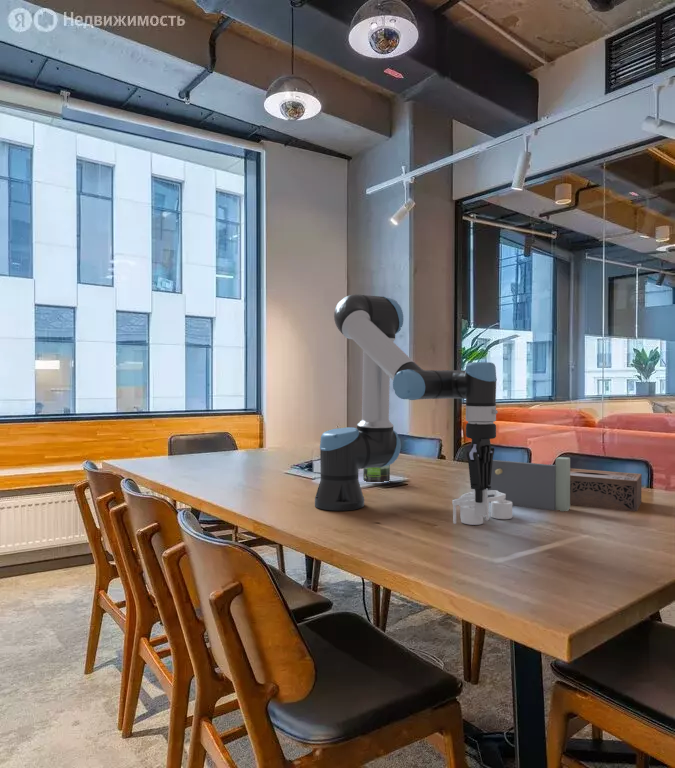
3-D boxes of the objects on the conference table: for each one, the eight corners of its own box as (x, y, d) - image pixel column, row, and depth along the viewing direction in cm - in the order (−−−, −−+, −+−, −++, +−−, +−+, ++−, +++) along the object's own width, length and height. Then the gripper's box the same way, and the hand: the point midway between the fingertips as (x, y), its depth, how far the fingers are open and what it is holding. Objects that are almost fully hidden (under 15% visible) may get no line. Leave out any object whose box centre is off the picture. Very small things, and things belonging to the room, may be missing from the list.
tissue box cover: (543, 505, 180) (543, 473, 180) (554, 497, 192) (554, 467, 192) (636, 515, 166) (636, 481, 166) (641, 506, 178) (641, 473, 178)
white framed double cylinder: (467, 533, 147) (467, 504, 147) (438, 523, 157) (438, 496, 157) (521, 522, 158) (521, 495, 158) (490, 514, 167) (490, 489, 167)
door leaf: (563, 517, 163) (563, 460, 163) (484, 506, 176) (484, 454, 176) (571, 511, 170) (571, 457, 170) (495, 501, 184) (495, 451, 184)
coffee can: (387, 485, 212) (387, 447, 212) (360, 483, 215) (360, 446, 215) (392, 480, 222) (392, 443, 221) (366, 479, 225) (366, 443, 224)
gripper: (485, 425, 140) (485, 521, 141) (504, 421, 151) (504, 511, 151) (456, 423, 145) (456, 517, 145) (477, 420, 155) (476, 507, 156)
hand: (480, 514), depth 148 cm, fingers closed
